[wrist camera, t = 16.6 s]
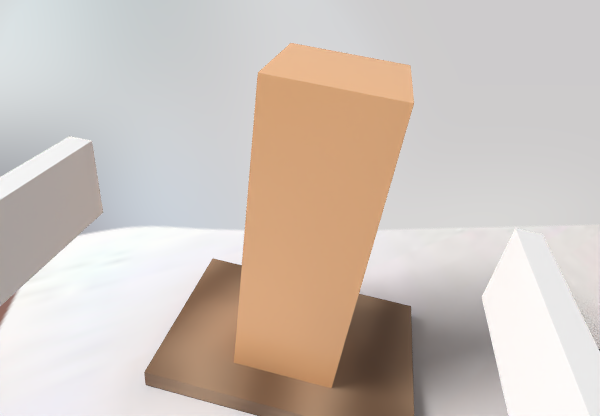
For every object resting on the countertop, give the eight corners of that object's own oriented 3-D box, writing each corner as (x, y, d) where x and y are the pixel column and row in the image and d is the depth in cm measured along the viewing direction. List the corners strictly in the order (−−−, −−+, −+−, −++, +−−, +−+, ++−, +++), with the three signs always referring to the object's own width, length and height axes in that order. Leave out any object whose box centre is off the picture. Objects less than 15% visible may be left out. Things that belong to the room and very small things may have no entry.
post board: (406, 317, 34) (439, 233, 29) (409, 456, 24) (456, 365, 20) (212, 269, 35) (215, 183, 31) (145, 384, 26) (136, 284, 22)
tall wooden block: (260, 294, 32) (290, 42, 22) (342, 314, 31) (410, 65, 22) (233, 362, 27) (257, 72, 17) (331, 388, 26) (414, 103, 16)
